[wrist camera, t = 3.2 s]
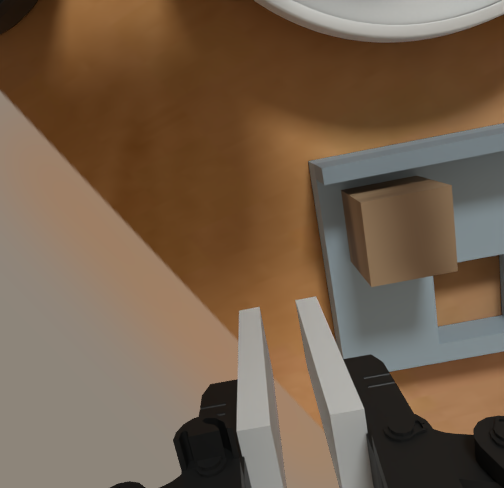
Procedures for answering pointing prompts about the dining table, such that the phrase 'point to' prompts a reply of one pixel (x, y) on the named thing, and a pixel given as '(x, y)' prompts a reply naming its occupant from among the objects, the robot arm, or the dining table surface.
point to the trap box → (422, 289)
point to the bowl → (386, 17)
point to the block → (401, 229)
